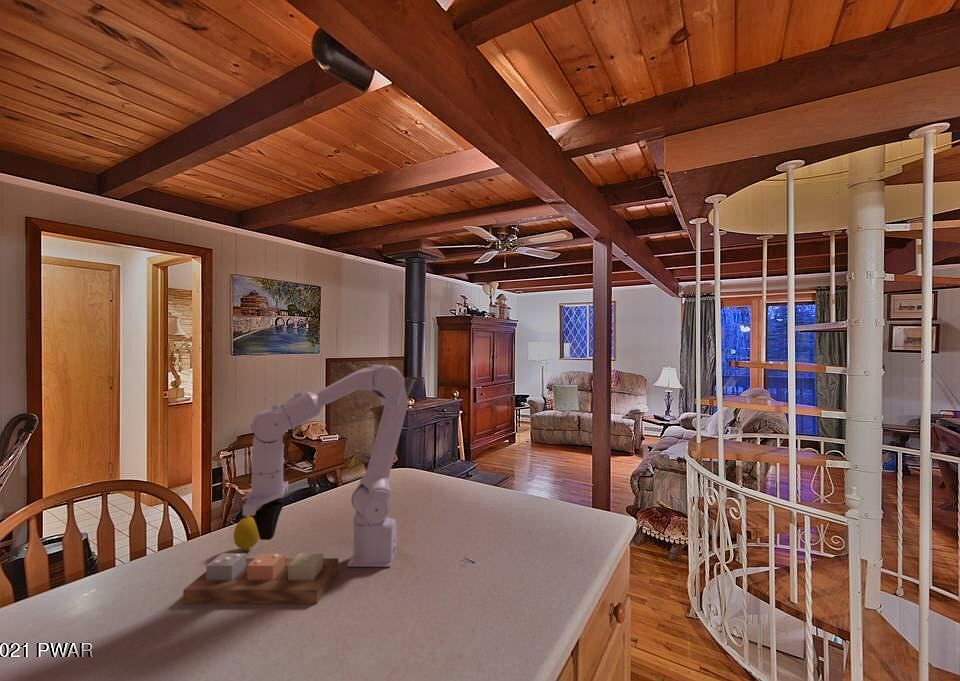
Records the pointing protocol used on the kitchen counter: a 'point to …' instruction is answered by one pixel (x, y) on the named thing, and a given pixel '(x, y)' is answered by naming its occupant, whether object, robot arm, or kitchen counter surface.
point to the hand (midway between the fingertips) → (266, 538)
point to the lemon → (246, 533)
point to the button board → (261, 587)
